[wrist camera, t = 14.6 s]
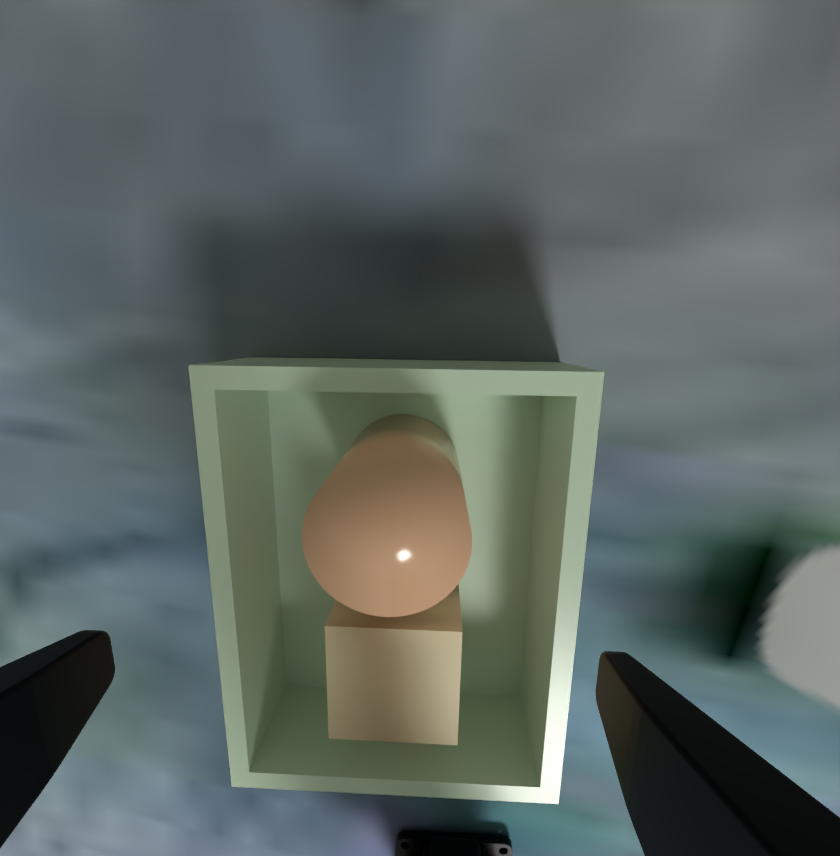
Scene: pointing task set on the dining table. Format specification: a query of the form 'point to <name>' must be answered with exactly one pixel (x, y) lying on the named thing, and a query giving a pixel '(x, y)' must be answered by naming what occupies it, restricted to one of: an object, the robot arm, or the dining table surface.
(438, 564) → the tan capsule
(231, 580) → the tote
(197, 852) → the dining table surface
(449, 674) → the maple cube
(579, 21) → the dining table surface
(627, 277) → the dining table surface
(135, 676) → the dining table surface
